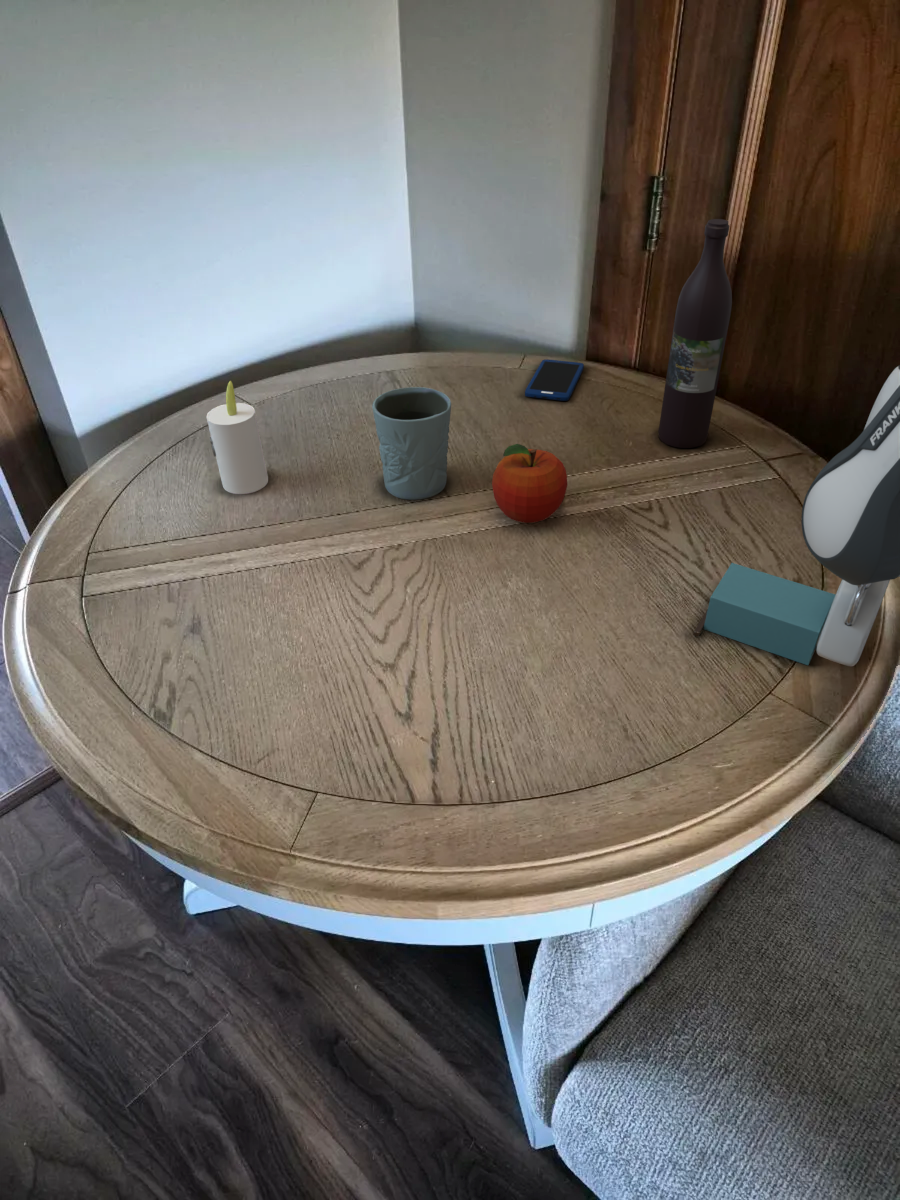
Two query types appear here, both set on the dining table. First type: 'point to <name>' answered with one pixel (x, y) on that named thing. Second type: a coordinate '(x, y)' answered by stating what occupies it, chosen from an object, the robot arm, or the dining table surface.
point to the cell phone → (554, 380)
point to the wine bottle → (697, 345)
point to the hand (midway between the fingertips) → (844, 640)
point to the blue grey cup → (413, 440)
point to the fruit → (529, 484)
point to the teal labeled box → (768, 612)
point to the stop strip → (700, 625)
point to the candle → (237, 445)
